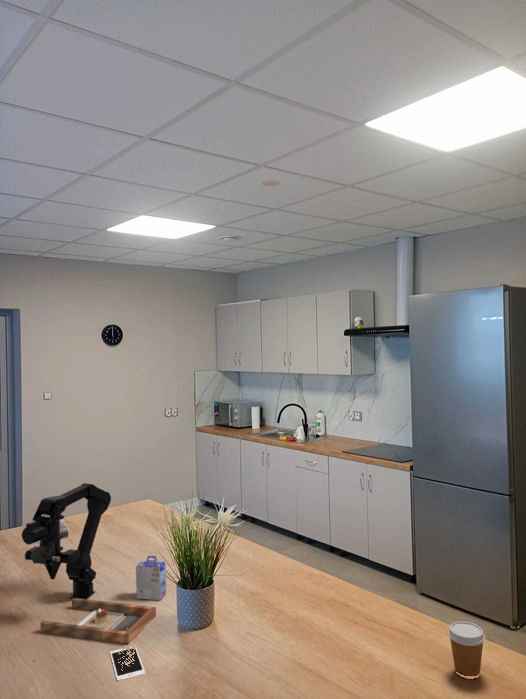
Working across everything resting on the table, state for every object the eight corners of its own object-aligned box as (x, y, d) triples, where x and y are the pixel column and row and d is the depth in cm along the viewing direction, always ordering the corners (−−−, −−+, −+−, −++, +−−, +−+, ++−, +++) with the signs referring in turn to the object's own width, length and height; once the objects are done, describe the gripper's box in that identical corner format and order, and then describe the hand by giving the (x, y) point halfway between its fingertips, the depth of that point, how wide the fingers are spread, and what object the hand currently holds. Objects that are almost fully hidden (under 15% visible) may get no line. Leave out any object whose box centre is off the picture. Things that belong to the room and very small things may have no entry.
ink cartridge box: (167, 593, 202) (165, 555, 202) (161, 600, 196) (160, 561, 196) (142, 592, 204) (141, 554, 204) (136, 599, 198) (134, 559, 198)
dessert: (126, 615, 188) (125, 601, 188) (107, 633, 176) (107, 618, 176) (95, 611, 191) (95, 598, 191) (75, 629, 179) (75, 614, 179)
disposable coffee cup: (443, 664, 152) (442, 621, 152) (475, 661, 153) (474, 619, 153) (458, 685, 143) (457, 640, 143) (493, 682, 144) (491, 637, 143)
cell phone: (117, 683, 149) (117, 680, 149) (109, 653, 164) (109, 651, 164) (145, 675, 152) (145, 673, 152) (135, 647, 167) (135, 645, 167)
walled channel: (40, 632, 177) (40, 622, 177) (74, 606, 194) (74, 597, 194) (129, 644, 168) (128, 634, 168) (156, 615, 185) (155, 607, 185)
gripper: (12, 540, 184) (14, 586, 184) (59, 544, 179) (61, 591, 179) (35, 530, 195) (36, 573, 195) (79, 533, 190) (81, 577, 190)
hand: (52, 579), depth 190 cm, fingers closed
